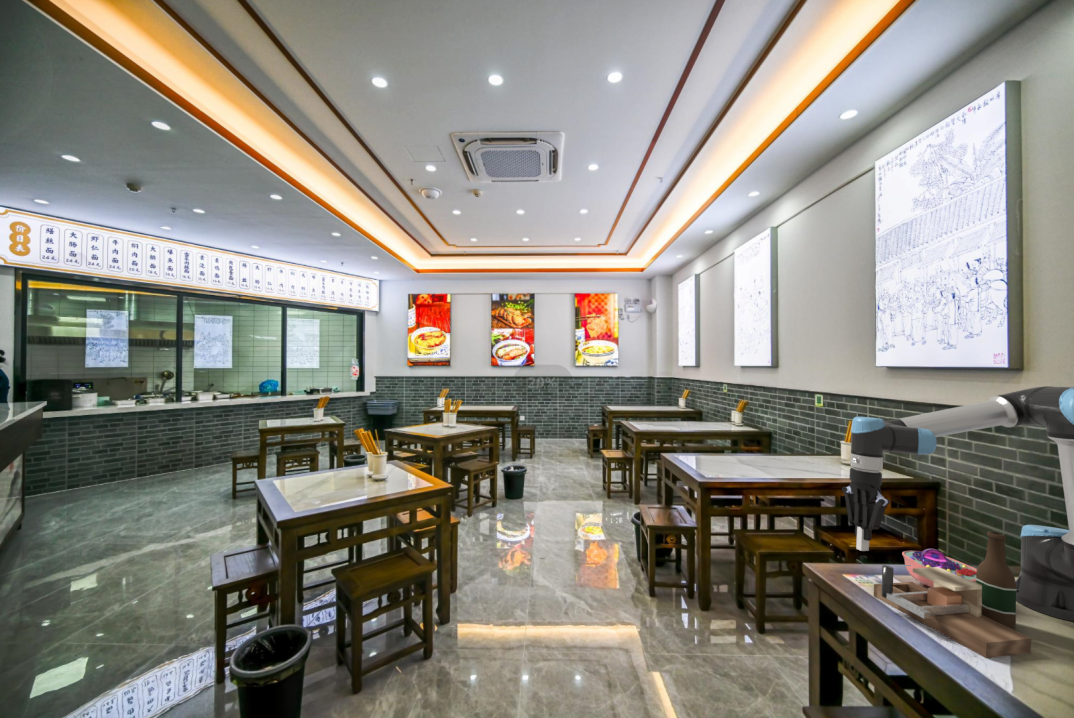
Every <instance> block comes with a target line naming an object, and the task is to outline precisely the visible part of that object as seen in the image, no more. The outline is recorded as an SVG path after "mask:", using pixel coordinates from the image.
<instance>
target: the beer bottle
mask: <svg viewBox="0 0 1074 718" xmlns="http://www.w3.org/2000/svg"><path fill="white" fill-rule="evenodd" d="M986 536H987V537H988V539H987V545H986V546H987V547H986V554H985V555H986V556H985V557H984V560H982V561H981V562H980V563H979V565H978V566H977V568H976V569H977V572H976V583H978V584H980V585H982V608H981V615H983V616H985V617H987V618H990V619H992V620H994V621H996V622H998V623H1000V624H1002V625H1004V626H1006V627H1009V628H1011V629H1013V630H1015V631H1016V626H1017V625H1016V624H1017V621H1016V620H1017V619H1016V618H1017V601H1016V578H1015V576H1014V572H1013V571H1012V570H1011V569H1010V567H1009V566H1008V563H1007V557H1006V543H1005V541H1007V537H1006V535H1005V534H1004V533H1001V532H997V531H991V530H990V531H987V533H986Z"/></svg>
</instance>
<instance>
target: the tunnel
mask: <svg viewBox="0 0 1074 718" xmlns="http://www.w3.org/2000/svg"><path fill="white" fill-rule="evenodd" d="M913 572H914V573H916V574H918V575H920V576H923V577H925V578H927V579H929V580H931V581H934V587H944V588H946V589H948V590H950V591H953V592H955V593H957V594H959V595H961V596H962V598H961V603H967V604H969V612H968V613H970V614H972V615H974V616H977V617H979V616H981V608H982V585H980V584H978V583H975V582H973V581H971V580H968V579H966V578H963V577H961V576H959V575H956V574H954V573H951V572H949V571H947V570H944V569H942V568H939V567H930V568H913Z"/></svg>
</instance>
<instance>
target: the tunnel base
mask: <svg viewBox="0 0 1074 718" xmlns="http://www.w3.org/2000/svg"><path fill="white" fill-rule="evenodd" d="M922 591H928V588H926V587H923V586H922V585H920V584H918V583H916V582H914V581H905V582H903V581H902V582H893V593H908V592H922ZM881 594H882V583H875V584H873V597H874V598H876V599H878V600H880V601H881V600H882V602H883V603H885V604H887V605H889V606H890V607H892V608H894V609H896V610H898V611H899V612H902V613H904V614H905V615H907V616H909V617H911V618H913V619H914V620H916V621H918V622H920V623H921V624H923V625H925V626H927V627H929V628H930V629H932V630H934V631H936V632H938V633H939V634H941V635H943V636H945V637H947V638H948V639H950V640H953V641H955V642H956V643H958V644H960V645H961V646H963V647H965V648H967V649H968V650H970V651H972V652H974V653H976V654H978V656H981V657H983V658H984V659H985V658H986V659H991V658H999V657H1008V656H1015V655H1016V656H1017V655H1025V654H1026V655H1027V654H1031V653H1032V637H1029V636H1028V635H1026V634H1023V633H1021V632H1019V631H1017V630H1016V629H1015V630H1013V629H1011V628H1009V627H1006V626H1004V625H1002V624H1000V623H998V622H996V621H994V620H992V619H990V618H987V617H985V616H983V615H981V616H979V617H977V616H974V615H972V614H970V613H968V612H967V613H956V614H944V615H933V616H930V618H928V619H924V618H922V617H920V616H918V615H916V614H914V613H912V612H911V611H909V610H907V609H905V608H903V607H901V606H900V605H898V604H896V603H894V602H892V601H890V600H888V599H887V598H884V597H882V595H881ZM911 602H912V603H914V604H916V605H917V606H919V607H922V606H933V605H931V604H929V603H927V600H924V601H911Z"/></svg>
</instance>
